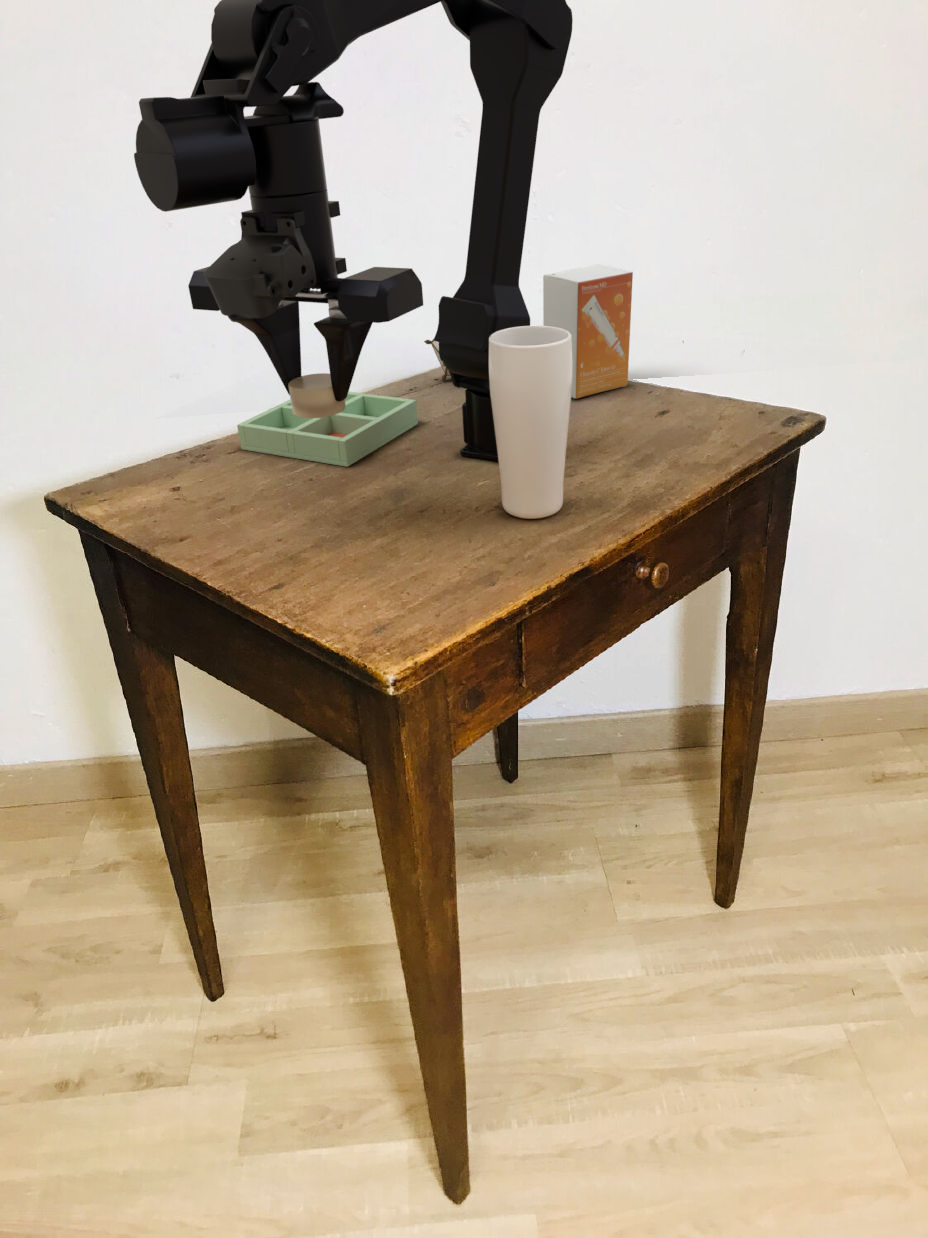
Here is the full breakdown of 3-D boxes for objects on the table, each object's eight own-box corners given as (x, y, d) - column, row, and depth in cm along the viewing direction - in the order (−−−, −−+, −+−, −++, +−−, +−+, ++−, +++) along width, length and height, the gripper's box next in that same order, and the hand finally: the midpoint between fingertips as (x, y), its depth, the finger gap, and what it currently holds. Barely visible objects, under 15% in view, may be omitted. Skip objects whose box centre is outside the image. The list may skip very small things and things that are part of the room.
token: (355, 403, 80) (352, 375, 78) (325, 420, 76) (321, 391, 75) (313, 398, 81) (309, 371, 80) (282, 415, 78) (277, 386, 77)
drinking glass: (579, 496, 85) (581, 326, 77) (560, 528, 79) (561, 348, 72) (506, 490, 87) (501, 323, 79) (483, 520, 82) (476, 344, 74)
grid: (418, 423, 104) (416, 399, 103) (347, 467, 94) (344, 440, 93) (317, 410, 110) (314, 387, 109) (241, 449, 100) (236, 424, 99)
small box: (576, 400, 108) (577, 281, 102) (542, 388, 113) (541, 273, 106) (629, 386, 112) (634, 270, 105) (594, 374, 117) (597, 263, 110)
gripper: (116, 207, 68) (164, 416, 76) (330, 210, 60) (358, 443, 68) (218, 185, 77) (252, 376, 85) (418, 186, 69) (434, 396, 77)
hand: (317, 397), depth 78 cm, fingers closed on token, 4 cm apart
